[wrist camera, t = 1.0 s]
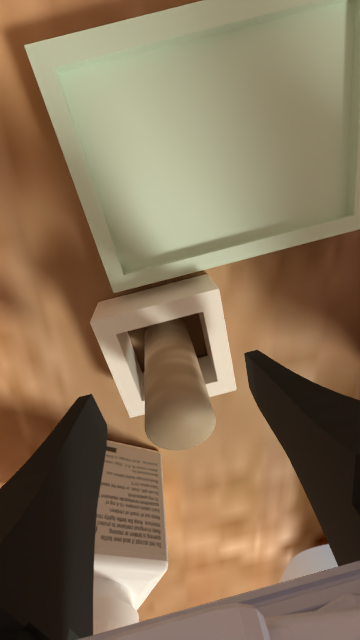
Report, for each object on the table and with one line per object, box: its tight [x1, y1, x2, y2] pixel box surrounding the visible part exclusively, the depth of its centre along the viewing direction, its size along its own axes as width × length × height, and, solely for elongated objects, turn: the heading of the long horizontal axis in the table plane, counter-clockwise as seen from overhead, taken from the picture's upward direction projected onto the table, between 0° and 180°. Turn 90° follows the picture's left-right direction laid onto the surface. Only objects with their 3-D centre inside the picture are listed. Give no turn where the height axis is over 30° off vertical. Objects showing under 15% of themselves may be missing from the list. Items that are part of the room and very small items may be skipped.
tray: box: [24, 0, 360, 293], centre depth 13 cm, size 14×10×1 cm
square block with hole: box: [90, 274, 237, 418], centre depth 16 cm, size 7×7×3 cm
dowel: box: [145, 318, 216, 450], centre depth 14 cm, size 3×3×8 cm
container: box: [93, 440, 168, 635], centre depth 16 cm, size 8×8×13 cm
